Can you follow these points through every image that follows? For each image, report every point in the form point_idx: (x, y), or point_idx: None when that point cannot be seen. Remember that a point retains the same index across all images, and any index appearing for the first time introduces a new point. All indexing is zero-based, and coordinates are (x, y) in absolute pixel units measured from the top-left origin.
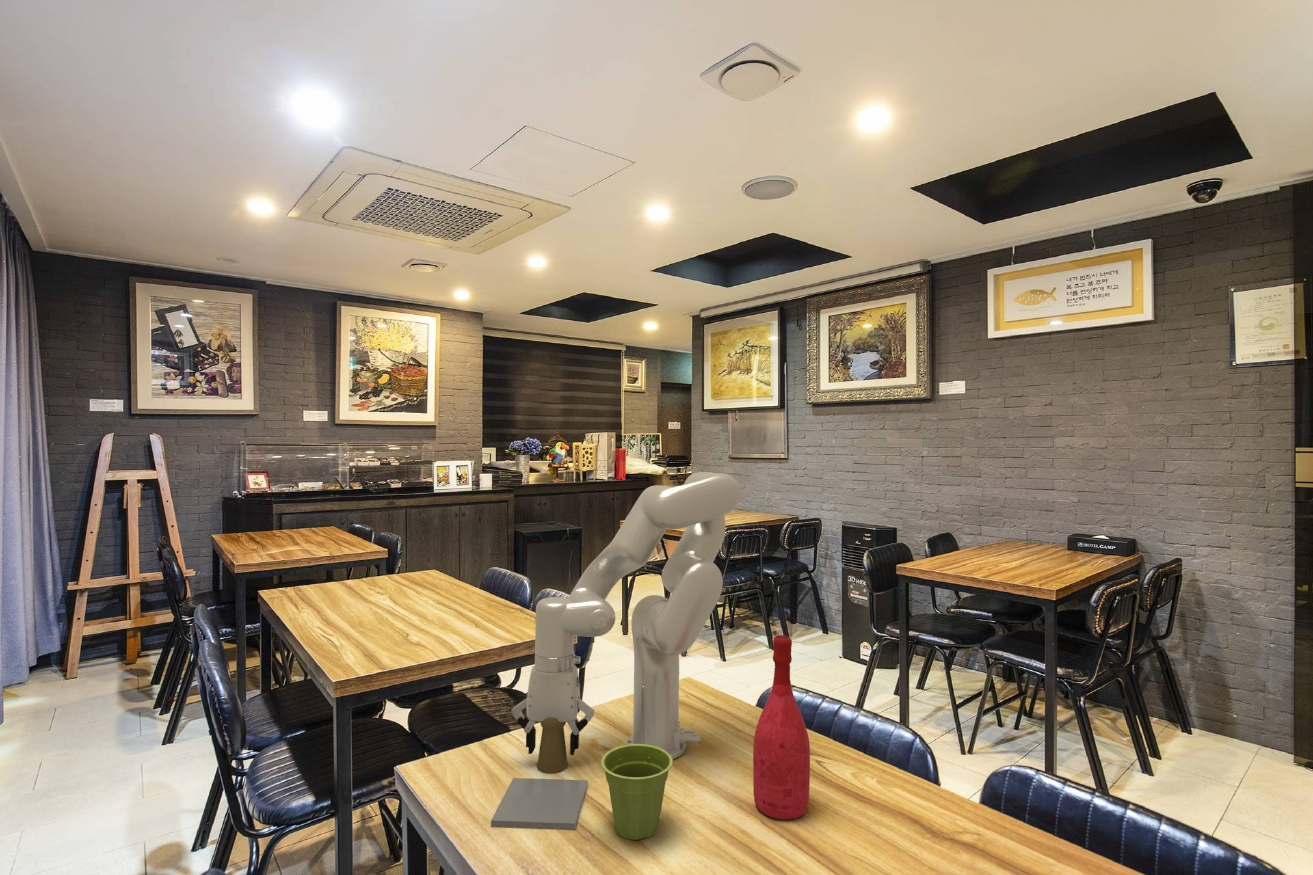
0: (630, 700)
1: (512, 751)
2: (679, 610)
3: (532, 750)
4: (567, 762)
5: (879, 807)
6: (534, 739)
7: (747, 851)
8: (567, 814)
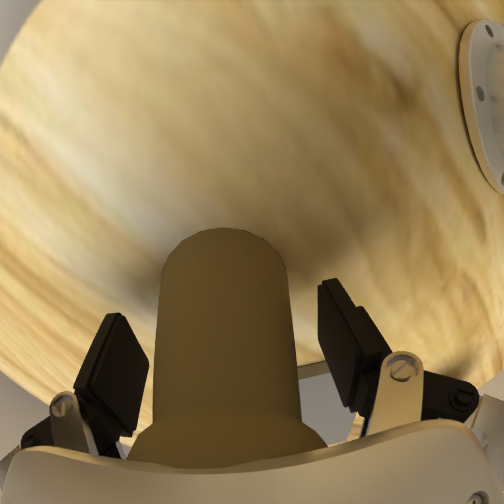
0: None
1: (29, 219)
2: None
3: (145, 365)
4: (286, 276)
5: None
6: (121, 366)
7: (497, 368)
8: (332, 436)
